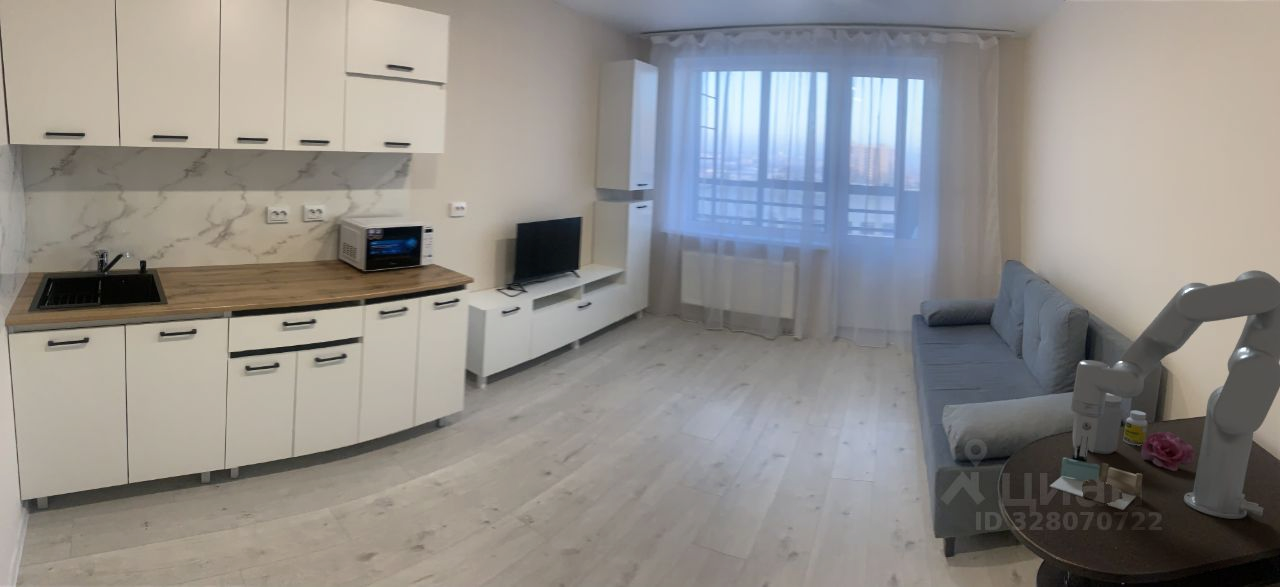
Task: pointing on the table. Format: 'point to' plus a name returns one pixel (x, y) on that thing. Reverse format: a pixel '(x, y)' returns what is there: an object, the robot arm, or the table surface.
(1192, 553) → the table surface
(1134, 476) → the fence fixed
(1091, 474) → the fence gate
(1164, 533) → the table surface
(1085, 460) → the robot arm
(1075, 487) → the card
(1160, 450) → the flower
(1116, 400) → the jar
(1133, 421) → the supplement bottle
